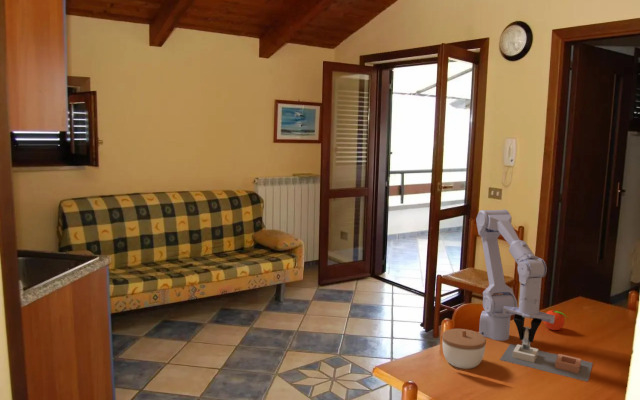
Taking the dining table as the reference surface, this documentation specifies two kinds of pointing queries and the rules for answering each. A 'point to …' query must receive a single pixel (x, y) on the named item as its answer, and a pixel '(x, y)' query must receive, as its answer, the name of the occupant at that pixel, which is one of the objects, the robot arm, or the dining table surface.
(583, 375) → the board
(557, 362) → the socket
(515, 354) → the pin mount
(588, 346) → the dining table surface
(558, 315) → the clementine
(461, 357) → the lidded bowl
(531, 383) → the dining table surface
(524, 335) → the lock pin
